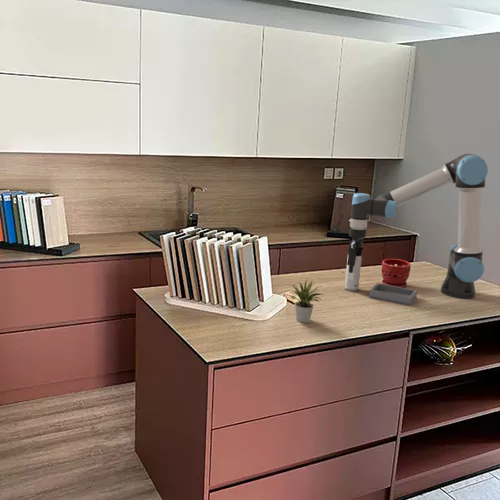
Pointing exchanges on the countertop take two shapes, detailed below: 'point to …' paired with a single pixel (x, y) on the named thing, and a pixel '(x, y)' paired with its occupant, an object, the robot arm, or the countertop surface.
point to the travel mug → (354, 284)
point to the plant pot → (395, 272)
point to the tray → (393, 294)
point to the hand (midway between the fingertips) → (352, 277)
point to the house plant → (305, 302)
